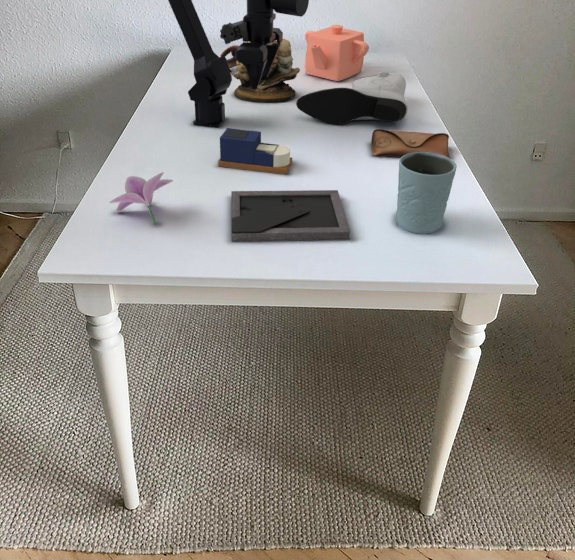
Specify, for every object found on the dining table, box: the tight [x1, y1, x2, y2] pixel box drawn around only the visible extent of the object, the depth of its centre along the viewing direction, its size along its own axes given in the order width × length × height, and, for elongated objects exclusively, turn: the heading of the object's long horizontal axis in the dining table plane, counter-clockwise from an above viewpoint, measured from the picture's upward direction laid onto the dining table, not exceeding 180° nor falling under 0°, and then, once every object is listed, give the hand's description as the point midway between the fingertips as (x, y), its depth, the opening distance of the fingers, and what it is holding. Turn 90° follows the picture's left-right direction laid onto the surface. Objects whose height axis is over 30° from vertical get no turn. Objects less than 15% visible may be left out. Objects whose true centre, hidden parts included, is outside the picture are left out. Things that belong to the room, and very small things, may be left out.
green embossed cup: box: [395, 152, 458, 235], centre depth 113 cm, size 10×10×12 cm
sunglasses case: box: [370, 128, 452, 159], centre depth 142 cm, size 18×7×7 cm
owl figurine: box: [233, 38, 301, 103], centre depth 166 cm, size 18×12×17 cm, turn 92°
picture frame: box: [230, 189, 351, 242], centre depth 116 cm, size 16×2×21 cm
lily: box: [109, 171, 174, 225], centre depth 113 cm, size 12×12×10 cm
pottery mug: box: [220, 44, 240, 69], centre depth 188 cm, size 12×10×8 cm
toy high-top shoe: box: [217, 127, 293, 175], centre depth 133 cm, size 15×6×7 cm, turn 78°
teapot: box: [304, 24, 370, 82], centre depth 184 cm, size 20×22×14 cm
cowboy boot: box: [295, 72, 409, 126], centre depth 162 cm, size 10×28×25 cm
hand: (259, 82), depth 142 cm, fingers open, 9 cm apart
